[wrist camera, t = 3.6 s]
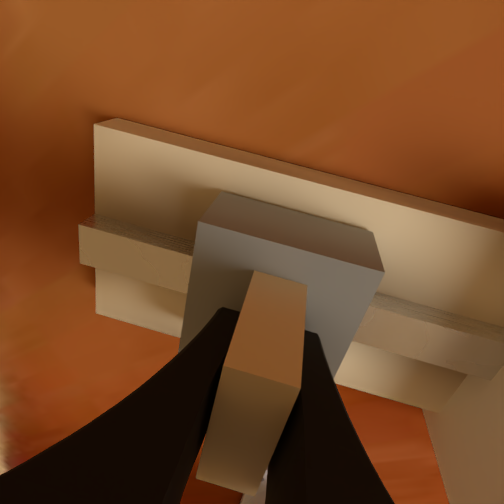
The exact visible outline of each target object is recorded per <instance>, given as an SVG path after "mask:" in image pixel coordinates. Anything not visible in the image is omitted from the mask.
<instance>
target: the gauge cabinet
mask: <svg viewBox="0 0 504 504" xmlns="http://www.w3.org/2000/svg"><path fill="white" fill-rule="evenodd" d="M422 411H423V414H424V418H425V421H426V425H427V428H428V431H429V435H430V438H431V442H432V445H433V449H434V452H435V456H436V459H437V463H438V466H439V469H440V473H441V476H442V480H443V483H444V487H445V490H446V494H447V497H448V500H449V504H504V365H503V366H502V368H501V369H500V370H499V371H498V372H497V374H496V375H495V376H494V377H493V379H492V380H491V381H490V380H486V379H483V378H479V377H476V376H472V375H469V374H468V375H467V376H466V378H465V379H464V380H463V382H462V383H461V384H460V386H459V387H458V388H457V390H456V391H455V392H454V394H453V395H452V396H451V398H450V399H449V400H448V402H447V403H446V404H445V405H444V407H443V408H442V409H441V411H440V412H439V413H435V412H432V411H429V410H425V409H422Z"/></svg>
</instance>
